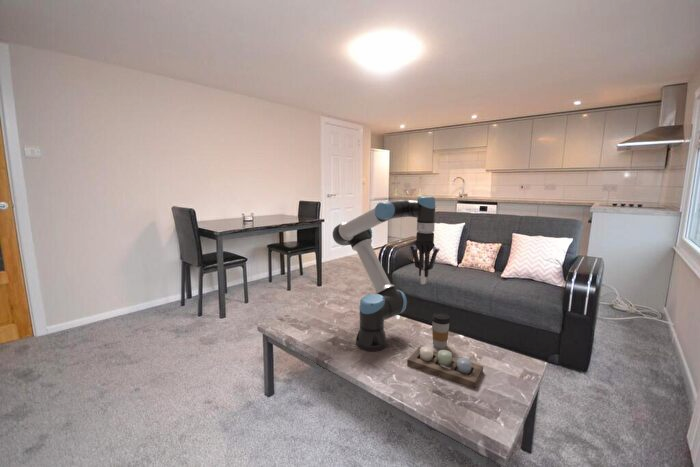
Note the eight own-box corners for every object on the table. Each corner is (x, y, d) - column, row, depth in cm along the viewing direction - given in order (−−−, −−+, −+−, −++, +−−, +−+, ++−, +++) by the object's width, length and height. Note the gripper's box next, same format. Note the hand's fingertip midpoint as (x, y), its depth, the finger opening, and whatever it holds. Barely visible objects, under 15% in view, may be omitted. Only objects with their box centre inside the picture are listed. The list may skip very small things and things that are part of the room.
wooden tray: (407, 364, 138) (407, 359, 138) (419, 351, 149) (419, 346, 149) (474, 388, 123) (475, 382, 122) (482, 371, 133) (483, 366, 133)
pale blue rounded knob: (455, 371, 130) (455, 362, 130) (458, 365, 135) (459, 356, 134) (468, 376, 127) (469, 366, 127) (472, 369, 132) (473, 360, 131)
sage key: (435, 363, 135) (436, 354, 134) (440, 357, 139) (440, 348, 138) (449, 367, 132) (449, 358, 131) (453, 361, 136) (453, 352, 135)
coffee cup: (449, 350, 150) (451, 320, 147) (431, 348, 151) (432, 318, 149) (447, 342, 158) (449, 313, 155) (430, 340, 159) (431, 311, 157)
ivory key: (417, 359, 139) (418, 350, 139) (422, 353, 144) (423, 345, 143) (430, 363, 136) (430, 354, 136) (434, 357, 141) (435, 348, 140)
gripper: (408, 231, 142) (406, 282, 146) (436, 234, 135) (434, 288, 138) (414, 229, 148) (413, 278, 152) (442, 232, 141) (440, 283, 145)
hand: (423, 283), depth 145 cm, fingers closed
